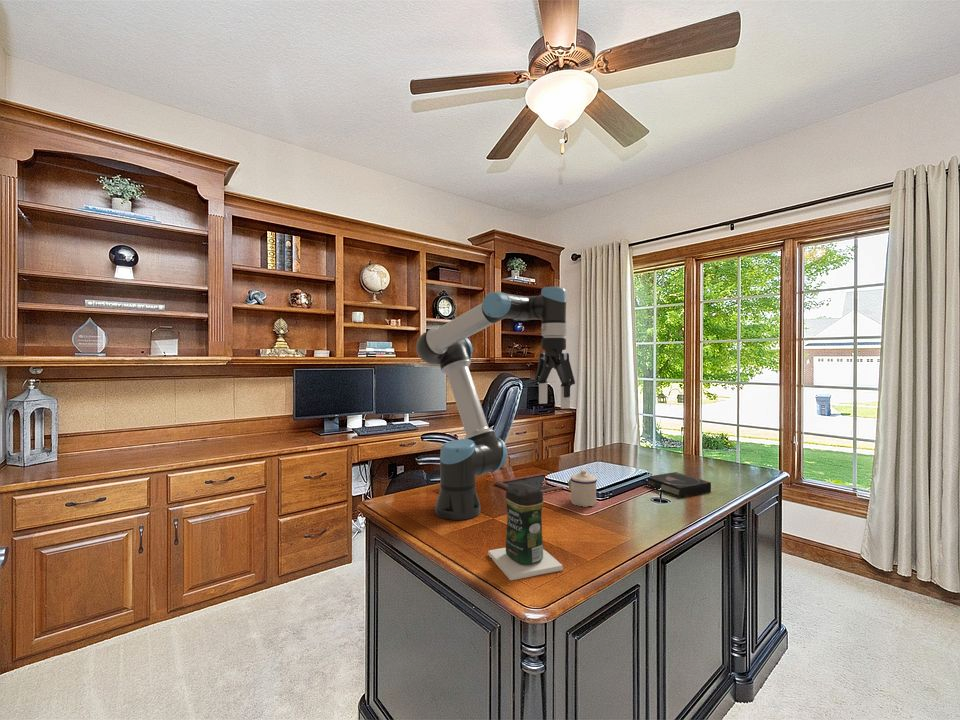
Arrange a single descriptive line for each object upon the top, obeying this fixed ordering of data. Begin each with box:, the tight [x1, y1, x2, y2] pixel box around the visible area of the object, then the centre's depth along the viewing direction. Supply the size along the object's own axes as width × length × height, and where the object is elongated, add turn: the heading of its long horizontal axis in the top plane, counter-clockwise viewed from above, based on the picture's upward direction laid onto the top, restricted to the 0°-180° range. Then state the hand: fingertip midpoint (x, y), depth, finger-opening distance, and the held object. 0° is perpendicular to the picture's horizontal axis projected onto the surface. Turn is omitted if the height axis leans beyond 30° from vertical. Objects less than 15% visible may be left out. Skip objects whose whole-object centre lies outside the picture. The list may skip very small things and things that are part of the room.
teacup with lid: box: [567, 469, 598, 508], centre depth 158 cm, size 12×9×12 cm
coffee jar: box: [505, 482, 544, 565], centre depth 112 cm, size 10×8×19 cm
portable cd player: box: [645, 471, 712, 499], centre depth 173 cm, size 16×17×4 cm
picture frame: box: [495, 472, 563, 493], centre depth 177 cm, size 20×2×25 cm
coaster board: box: [487, 547, 564, 581], centre depth 112 cm, size 14×14×1 cm
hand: (553, 405), depth 138 cm, fingers open, 13 cm apart
